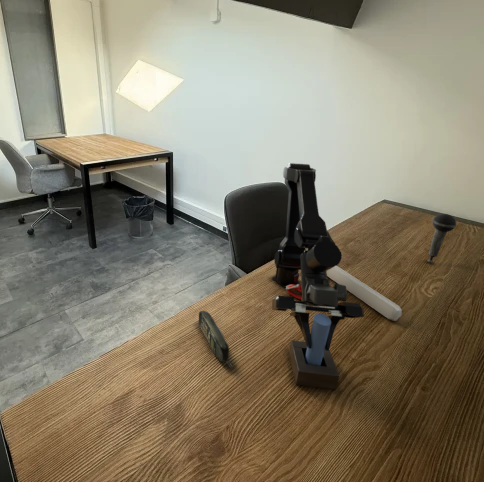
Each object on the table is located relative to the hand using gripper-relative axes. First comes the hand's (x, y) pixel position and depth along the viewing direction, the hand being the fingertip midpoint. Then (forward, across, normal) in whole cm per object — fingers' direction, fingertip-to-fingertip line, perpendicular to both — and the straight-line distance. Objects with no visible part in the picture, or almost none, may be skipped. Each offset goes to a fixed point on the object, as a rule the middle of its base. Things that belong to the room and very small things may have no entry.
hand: (318, 349), depth 65 cm
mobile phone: (+2, -22, +9) cm, 24 cm away
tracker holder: (-15, +5, +26) cm, 30 cm away
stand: (+4, 0, +6) cm, 8 cm away
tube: (-16, +22, +27) cm, 38 cm away
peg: (+4, 0, +6) cm, 7 cm away
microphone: (-34, +57, +45) cm, 80 cm away
